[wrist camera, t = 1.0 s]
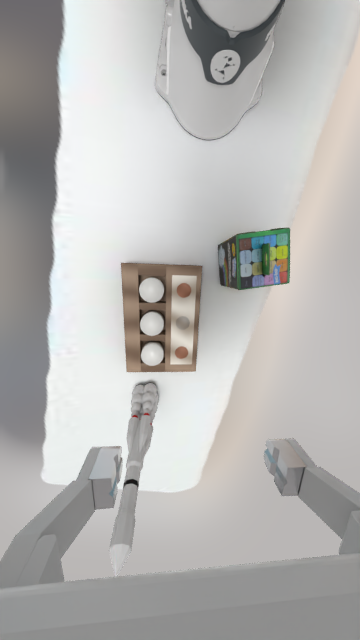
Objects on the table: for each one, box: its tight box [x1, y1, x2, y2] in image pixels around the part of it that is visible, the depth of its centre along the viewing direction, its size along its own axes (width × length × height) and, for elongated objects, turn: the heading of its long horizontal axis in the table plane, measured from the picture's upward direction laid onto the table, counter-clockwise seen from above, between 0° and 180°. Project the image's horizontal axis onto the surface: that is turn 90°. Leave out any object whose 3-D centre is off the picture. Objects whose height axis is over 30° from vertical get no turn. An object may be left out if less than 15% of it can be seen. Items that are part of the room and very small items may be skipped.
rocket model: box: [109, 383, 159, 577], centre depth 33 cm, size 7×7×30 cm
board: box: [121, 263, 202, 372], centre depth 40 cm, size 24×16×4 cm, turn 178°
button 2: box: [139, 277, 164, 303], centre depth 36 cm, size 5×5×3 cm
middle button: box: [140, 310, 164, 336], centre depth 38 cm, size 5×5×3 cm
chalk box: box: [218, 228, 290, 290], centre depth 33 cm, size 9×9×15 cm
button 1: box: [141, 341, 164, 366], centre depth 40 cm, size 5×5×3 cm
